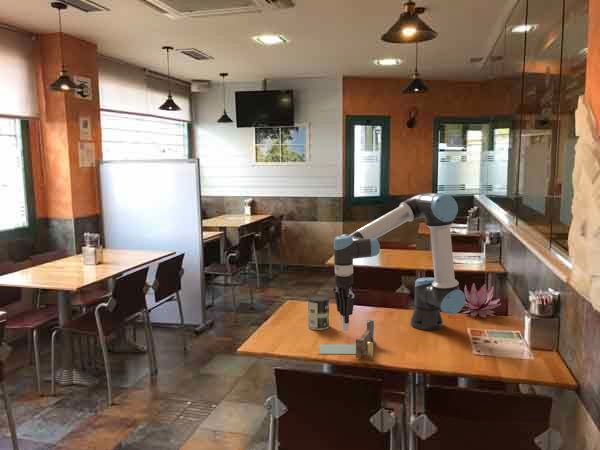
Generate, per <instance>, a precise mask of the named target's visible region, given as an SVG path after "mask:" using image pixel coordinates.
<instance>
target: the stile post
mask: <svg viewBox="0 0 600 450" xmlns="http://www.w3.org/2000/svg"><path fill="white" fill-rule="evenodd" d="M373 360H374V345H373V342H371V341H368V342H367V354H366V361H369V362H370V361H373Z"/></svg>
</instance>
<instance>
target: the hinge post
mask: <svg viewBox="0 0 600 450" xmlns="http://www.w3.org/2000/svg"><path fill="white" fill-rule="evenodd" d="M374 324H375V321H374V320H372V319H368V320H366V330H371V342H373V346H376V344H377V342H376V341H375V340H374V339H375V335H374V333H375V331H374V329H375V325H374Z"/></svg>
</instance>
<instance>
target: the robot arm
mask: <svg viewBox="0 0 600 450" xmlns="http://www.w3.org/2000/svg"><path fill="white" fill-rule="evenodd" d="M458 212H459V205H458V203H457V201H456V200H455V198H454V197H453V196H451V195H449V194H446V193H442V192H441V193H440V192H420V193H418V194H415V195H413V196H412V197H409V198H408V199H406V200H404V201H402V202H400V204H399V206H398V207H396V208H394V209H393V210H391V211H389V212H387V213H385V214H383V215H382V216H380V217H377V219H374V220H373V221H371V222H369V223H368V224H365V225H364V226H361V228H359V229H357V230H355V231H353V232H351V233H344V234H342V235H338V236H335V237H334V239H333V254H334V255H333V257H334V258H333V259H334V263H333V264H334V274H335V275H334V283H335V284H336V287H333V290H332V291H333V293H334V298H335V305H336V309H337V310H336V311H337V312H338V313H339V314H340V321H341V322H340V325H341V329H340V330H341V331H343V332H345V331H349V330H350V324H349V323H350V316H352V315H353V314H354V313H353V311H354V304H355V298H356V296H357V295H356V293H353V291H352V289H353V288H352V285H353V284H354V275H353V274H354V260H355V259H362V258H363V259H365V258H372V257H377V256H378V255H379V253H380V251H381V245H380V242H379V241H378V238H380V237H382V236H384V235H385V234H388V232H390V231H392V230H394V229H396V228H398V227H400V226H401V225H403V224H405V223H407V222H409V223H410V222H413V221H415V220H417V219H424V220H425V226H426V227H428V228H429V232H430V235H429V236H430V245H431V255H432V266H433V275H434V277H420V278H419V277H418V278H417V279H416V280H415V282H414V309H413V312H412V314H411V318H410V322H409V323H410V325H411V327H413V328H415V329H418V330H424V331H436V330H437V331H439V330H441V329H442V328H443V327H444V321H443V317H442V314H441V312H442V313H444V314H448V315H455V314H458V313H459V312H461V311H462V309H463V308H464V307H465V306H464V304H465V301H466V296H465V292H463V291H462V290H460V283H459V281H458V280H457V279H455V268H454V257H453V256H454V255H453V246H452V245H453V244H452V234H451V233H452V232H451V227H452V225H453V224H454V220H455V219H456V217H457V215H458ZM335 284H334V285H335Z"/></svg>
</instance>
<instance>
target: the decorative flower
mask: <svg viewBox="0 0 600 450" xmlns="http://www.w3.org/2000/svg"><path fill="white" fill-rule="evenodd" d="M464 294H465V304H464V306H463V307H468V308H466V309H465V308H462V309H461V311H463V310H464V311H463V312H462V314H468V313H469V315H470V317H474V318H476V316H479V317H480V318H486V319H487V315H488V316H492V317H496V315H495V314H494V311H492V310H491V309H495V308H497V307H499V306H500V305H501V303H498V302H500V300H501V298H497V299H494V300H492V297H493V295H494V286H492V287H490V289H488V288H487V284H486V283H484V284H483V285H482V286H481V287H479V289H478V290H477V288H476V284H475V283H474V282H473V283H472V285H471V288H470V291H469V290H468V287H467V285H466V284H465V286H464ZM466 300H467V301H466Z"/></svg>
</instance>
